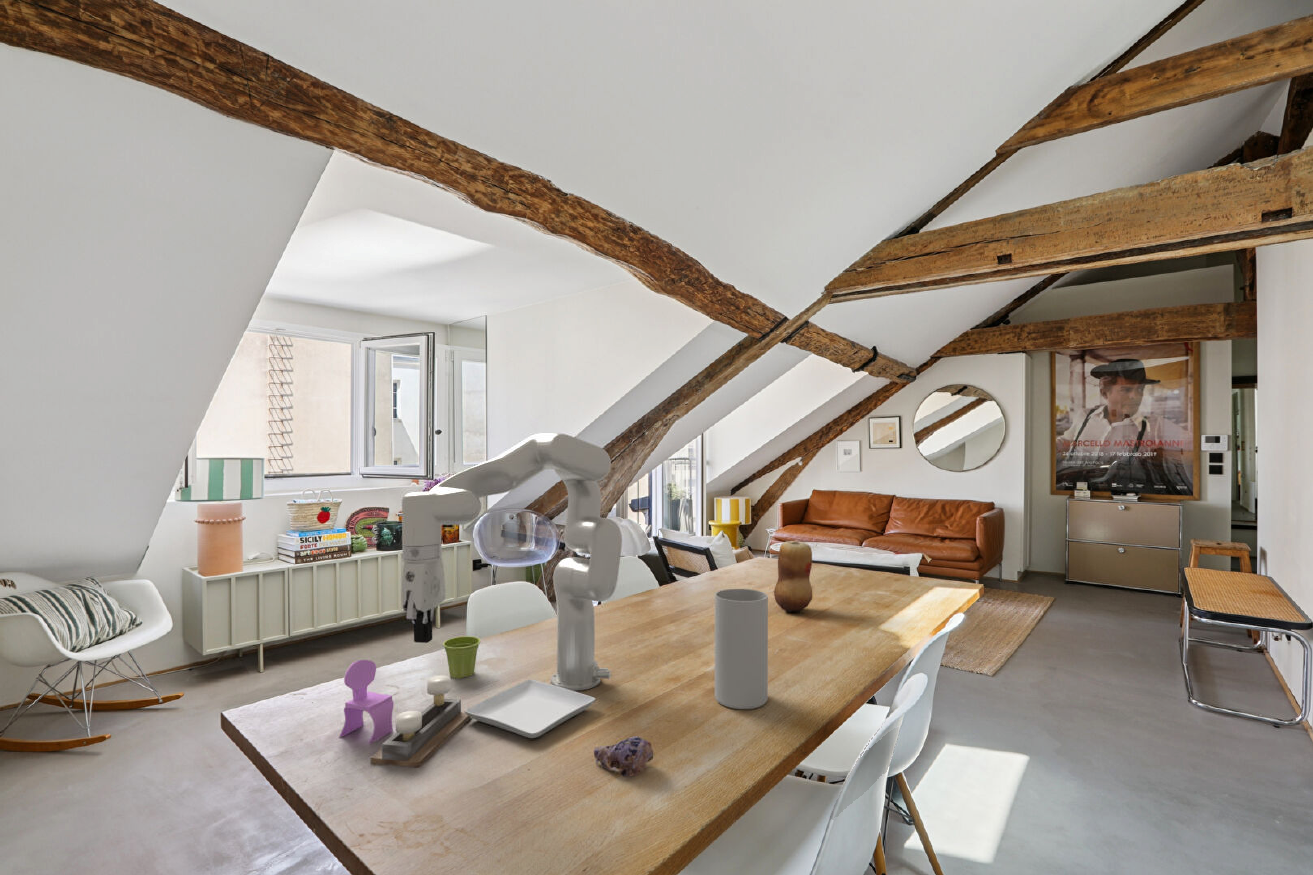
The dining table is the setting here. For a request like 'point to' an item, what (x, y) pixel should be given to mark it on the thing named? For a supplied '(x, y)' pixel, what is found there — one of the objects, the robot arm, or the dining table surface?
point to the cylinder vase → (741, 648)
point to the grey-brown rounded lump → (625, 756)
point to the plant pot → (461, 655)
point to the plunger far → (438, 688)
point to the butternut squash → (794, 576)
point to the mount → (423, 736)
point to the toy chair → (366, 701)
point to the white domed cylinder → (408, 724)
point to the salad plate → (530, 708)
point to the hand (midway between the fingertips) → (423, 641)
